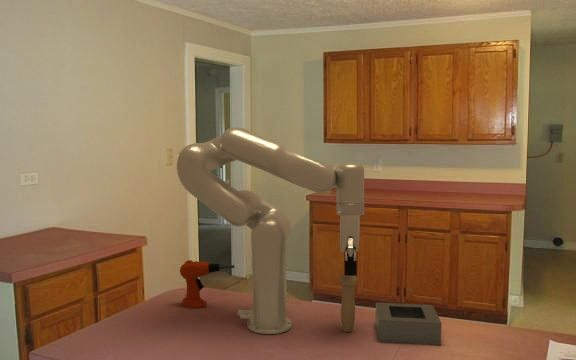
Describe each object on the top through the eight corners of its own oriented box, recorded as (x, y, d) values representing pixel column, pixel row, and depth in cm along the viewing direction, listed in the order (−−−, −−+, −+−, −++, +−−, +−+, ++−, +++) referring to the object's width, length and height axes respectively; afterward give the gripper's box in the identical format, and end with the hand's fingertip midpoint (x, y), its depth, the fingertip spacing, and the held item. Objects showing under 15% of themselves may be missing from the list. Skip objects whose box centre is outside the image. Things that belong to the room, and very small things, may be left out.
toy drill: (236, 307, 156) (230, 259, 155) (180, 309, 160) (174, 262, 159) (241, 301, 160) (235, 255, 159) (186, 304, 165) (180, 259, 164)
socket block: (378, 342, 133) (378, 319, 133) (375, 322, 147) (375, 302, 147) (440, 345, 132) (441, 322, 131) (432, 325, 145) (432, 305, 145)
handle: (338, 334, 138) (339, 280, 137) (338, 325, 145) (339, 274, 143) (356, 335, 138) (357, 281, 137) (355, 326, 144) (356, 274, 143)
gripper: (337, 204, 147) (337, 262, 149) (335, 213, 130) (336, 279, 132) (363, 204, 146) (363, 262, 148) (365, 213, 129) (365, 279, 131)
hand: (350, 270), depth 140 cm, fingers open, 9 cm apart
